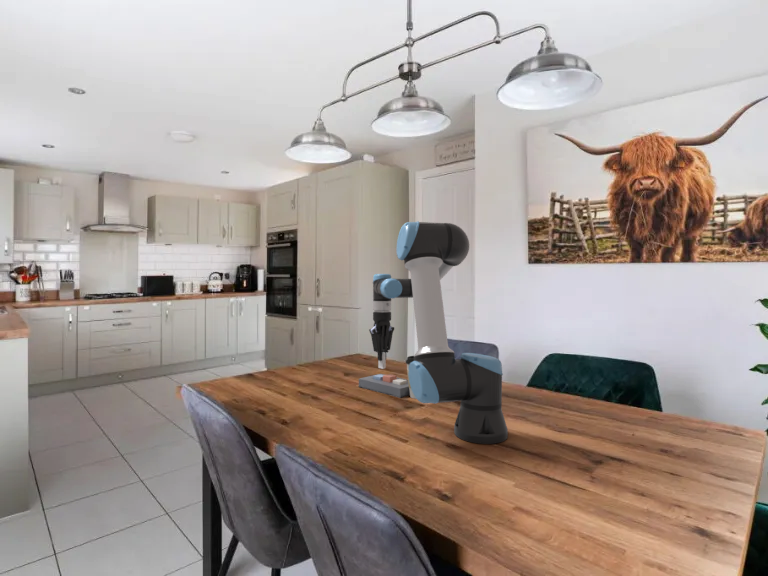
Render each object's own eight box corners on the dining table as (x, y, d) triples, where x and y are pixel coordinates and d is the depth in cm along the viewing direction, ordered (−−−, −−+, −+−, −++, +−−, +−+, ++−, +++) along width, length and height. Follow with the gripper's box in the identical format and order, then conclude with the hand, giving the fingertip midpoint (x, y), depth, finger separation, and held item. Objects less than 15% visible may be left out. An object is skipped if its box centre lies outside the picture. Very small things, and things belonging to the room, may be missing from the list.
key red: (389, 383, 173) (389, 377, 173) (382, 381, 176) (382, 375, 176) (396, 381, 176) (396, 375, 176) (389, 380, 178) (389, 374, 178)
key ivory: (400, 388, 169) (400, 382, 169) (392, 386, 172) (392, 380, 172) (406, 386, 172) (406, 380, 172) (399, 384, 175) (399, 378, 175)
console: (400, 397, 163) (400, 388, 163) (358, 387, 179) (358, 378, 179) (421, 391, 172) (421, 382, 172) (380, 381, 188) (380, 373, 188)
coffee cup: (432, 400, 160) (432, 360, 160) (405, 400, 160) (405, 359, 160) (430, 393, 170) (430, 355, 169) (405, 393, 170) (405, 355, 170)
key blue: (380, 383, 177) (380, 377, 177) (373, 381, 179) (373, 375, 179) (386, 381, 180) (386, 375, 180) (379, 380, 182) (379, 374, 182)
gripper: (377, 312, 171) (377, 371, 171) (399, 310, 180) (399, 367, 181) (364, 311, 176) (364, 369, 176) (386, 309, 185) (386, 364, 186)
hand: (381, 368), depth 178 cm, fingers closed
